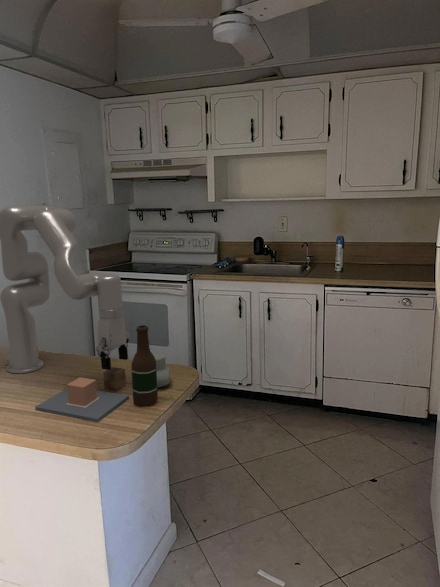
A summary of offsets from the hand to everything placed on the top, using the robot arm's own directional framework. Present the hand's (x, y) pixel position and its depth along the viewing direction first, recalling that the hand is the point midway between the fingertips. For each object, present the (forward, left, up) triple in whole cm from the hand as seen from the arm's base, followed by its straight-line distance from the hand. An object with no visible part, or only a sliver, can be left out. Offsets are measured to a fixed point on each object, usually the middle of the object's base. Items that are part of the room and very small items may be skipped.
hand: (115, 364), depth 144 cm
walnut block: (-1, 0, -8) cm, 8 cm away
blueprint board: (-3, -14, -8) cm, 16 cm away
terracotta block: (-3, -14, -7) cm, 16 cm away
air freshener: (+11, +7, -9) cm, 16 cm away
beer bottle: (+14, -6, -9) cm, 18 cm away
